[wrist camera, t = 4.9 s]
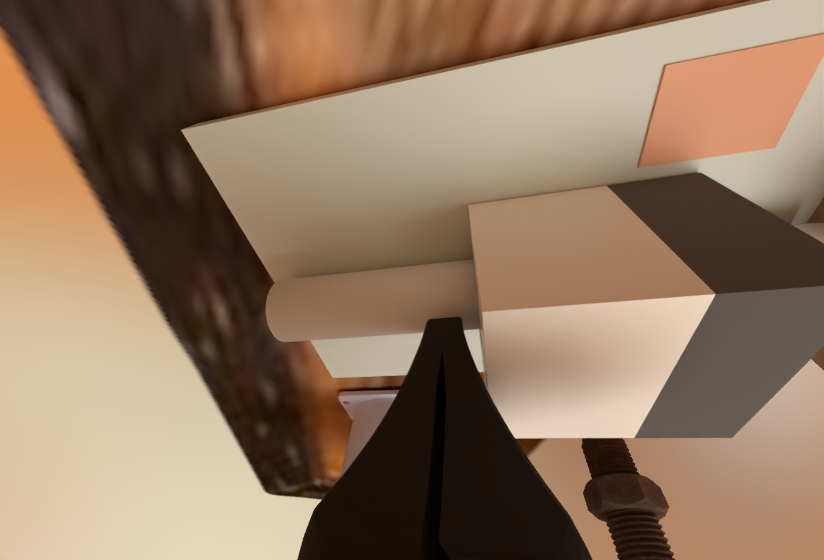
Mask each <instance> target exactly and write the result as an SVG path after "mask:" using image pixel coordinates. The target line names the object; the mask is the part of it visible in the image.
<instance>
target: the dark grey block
mask: <svg viewBox="0 0 824 560" xmlns="http://www.w3.org/2000/svg"><path fill="white" fill-rule="evenodd" d="M607 187H608V188H609V189H610V190H612V191H613V192H614V193H615V194H616V195H617V196H618V197H619V198H620V199H621V200H622V201H623V202H624V203H625V204H626V205H627V206H628V207H629V208H630V209H631V210H632V211H633V212H634V213H635V214H636V215H637V216H638V217H639V218H640V219H641V220H642V221H643V222H644V223H645V224H646V225H647V226H648V227H649V228H650V229H651V230H652V231H653V232H654V233H655V234H656V235H657V236H658V237H659V238H660V239H661V240H662V241H663V242H664V243H665V244H666V245H667V246H668V247H669V248H670V249H671V250H672V251H673V252H674V253H675V254H676V255H677V256H678V257H679V258H680V259H681V260H682V261H683V262H684V263H685V264H686V265H687V266H688V267H689V268H690V269H691V270H692V271H693V272H694V273H695V274H696V275H697V276H698V277H699V278H700V279H701V280H702V281H703V282H704V283H705V284H706V285H707V286H708V287H709V288H710V289H711V290H712V291H713V292H714V293H715V294H716V295H715V297H714V298H713V300H712V302H711V304H710V305H709V307H708V309H707V311H706V312H705V314H704V316H703V318H702V320H701V321H700V323H699V325H698V327H697V328H696V330H695V332H694V334H693V335H692V337H691V339H690V341H689V342H688V344H687V346H686V348H685V349H684V351H683V353H682V355H681V357H680V358H679V360H678V362H677V364H676V365H675V367H674V369H673V371H672V372H671V374H670V376H669V378H668V379H667V381H666V383H665V385H664V386H663V388H662V390H661V392H660V393H659V395H658V397H657V399H656V401H655V402H654V404H653V406H652V408H651V409H650V411H649V413H648V415H647V416H646V418H645V420H644V422H643V423H642V425H641V427H640V429H639V430H638V432H637V434H636V436H635V438H732V437H733V436H734V435H735V434H736V433H737V432H738V431H739V430H740V429H741V428H742V427H743V426H744V425H745V424H746V423H747V422H748V421H749V420H750V419H751V418H752V417H753V416H754V415H755V414H756V413H757V412H758V411H759V410H760V409H761V408H762V407H763V406H764V405H765V404H766V403H767V402H768V401H769V400H770V399H771V398H772V397H773V396H774V395H775V394H776V393H777V392H778V391H779V390H780V389H781V388H782V387H783V386H784V385H785V384H786V383H787V382H788V381H789V380H790V379H791V378H792V377H793V376H794V375H795V374H796V373H797V372H798V371H799V370H800V369H801V368H802V367H803V366H804V365H805V364H806V363H807V362H808V361H809V360H810V359H811V358H812V357H813V356H814V355H815V354H816V353H817V352H818V351H819V350H820V349H821V348H822V347H823V346H824V243H822V242H821V241H819V240H817V239H815V238H814V237H812V236H810V235H808V234H807V233H805V232H803V231H802V230H800V229H798V228H796V227H795V226H793V225H791V224H789V223H788V222H786V221H784V220H783V219H781V218H779V217H777V216H776V215H774V214H772V213H770V212H769V211H767V210H765V209H763V208H762V207H760V206H758V205H757V204H755V203H753V202H751V201H750V200H748V199H746V198H744V197H743V196H741V195H739V194H737V193H736V192H734V191H732V190H731V189H729V188H727V187H725V186H724V185H722V184H720V183H718V182H717V181H715V180H713V179H711V178H710V177H708V176H706V175H705V174H703V173H701V172H700V173H693V174H686V175H679V176H671V177H664V178H657V179H650V180H643V181H636V182H628V183H621V184H614V185H607Z"/></svg>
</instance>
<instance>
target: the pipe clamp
mask: <svg viewBox="0 0 824 560" xmlns="http://www.w3.org/2000/svg"><path fill="white" fill-rule="evenodd" d="M181 131H182V132H183V134H184V136H185V137H186V139H187V141H188V142H189V144H190V145H191V147H192V149H193V150H194V152H195V154H196V155H197V157H198V159H199V160H200V162H201V163H202V165H203V167H204V168H205V170H206V172H207V173H208V175H209V176H210V178H211V180H212V181H213V183H214V185H215V186H216V188H217V190H218V191H219V193H220V194H221V196H222V198H223V199H224V201H225V203H226V204H227V206H228V208H229V209H230V211H231V212H232V214H233V216H234V217H235V219H236V221H237V222H238V224H239V225H240V227H241V229H242V230H243V232H244V234H245V235H246V237H247V239H248V240H249V242H250V243H251V245H252V247H253V248H254V250H255V252H256V253H257V255H258V256H259V258H260V260H261V261H262V263H263V265H264V266H265V268H266V270H267V271H268V273H269V274H270V276H271V278H272V279H273V281H274V283H275V284H274V285H273V286H272V287H271V289H270V291H269V293H268V296H267V301H266V318H267V323H268V326H269V328H270V331H271V332H272V334H273V335H274V337H275V338H277V339H278V340H279V341H282V342H294V341H309V340H310V341H311V343H312V345H313V346H314V348H315V350H316V351H317V353H318V354H319V356H320V358H321V359H322V361H323V363H324V364H325V366H326V367H327V369H328V371H329V372H330V374H331V376H332V377H333V378H346V377H370V376H394V375H407V373H408V371H409V369H410V367H411V364H412V362H413V360H414V357H415V355H416V352H417V350H418V347H419V345H420V342H421V339H422V336H423V333H424V330H425V326H426V322H427V321H428V320H429V319H436V318H449V317H460V318H462V322H463V330H464V334H465V337H466V341H467V344H468V347H469V350H470V352H471V355H472V357H473V360H474V362H475V365H476V367H477V369H478V372H484V370H483V362H482V353H481V344H480V335H479V329H481V327H480V314H479V301H478V289H477V280H476V273H475V265H474V257H473V249H472V241H471V233H470V222H469V210H468V205H471V204H478V203H485V202H492V201H499V200H507V199H514V198H521V197H528V196H535V195H542V194H550V193H557V192H564V191H571V190H578V189H585V188H593V187H600V186H607V185H614V184H621V183H628V182H636V181H643V180H650V179H657V178H664V177H671V176H679V175H686V174H693V173H700V172H701V173H703V174H705V175H706V176H708V177H710V178H711V179H713V180H715V181H717V182H718V183H720V184H722V185H724V186H725V187H727V188H729V189H731V190H732V191H734V192H736V193H737V194H739V195H741V196H743V197H744V198H746V199H748V200H750V201H751V202H753V203H755V204H757V205H758V206H760V207H762V208H763V209H765V210H767V211H769V212H770V213H772V214H774V215H776V216H777V217H779V218H781V219H783V220H784V221H786V222H788V223H789V224H791V225H793V226H795V227H796V228H798V229H800V230H802V231H803V232H805V233H807V234H808V235H810V236H812V237H814V238H815V239H817V240H819V241H821V242H822V243H824V0H751V1H746V2H742V3H737V4H733V5H728V6H724V7H719V8H715V9H710V10H706V11H701V12H697V13H692V14H688V15H683V16H679V17H674V18H670V19H665V20H661V21H656V22H652V23H647V24H643V25H638V26H634V27H629V28H625V29H620V30H616V31H611V32H607V33H602V34H598V35H593V36H589V37H584V38H580V39H575V40H571V41H566V42H562V43H557V44H553V45H548V46H544V47H539V48H535V49H530V50H526V51H521V52H517V53H512V54H508V55H503V56H499V57H494V58H490V59H485V60H481V61H476V62H472V63H467V64H463V65H458V66H454V67H449V68H445V69H440V70H436V71H431V72H427V73H422V74H418V75H413V76H409V77H404V78H400V79H395V80H391V81H386V82H382V83H377V84H373V85H368V86H364V87H359V88H355V89H350V90H346V91H341V92H337V93H332V94H328V95H323V96H319V97H314V98H310V99H305V100H301V101H296V102H292V103H287V104H283V105H278V106H274V107H269V108H265V109H260V110H256V111H251V112H247V113H242V114H238V115H233V116H229V117H224V118H220V119H215V120H211V121H206V122H202V123H197V124H195V125H192V126H190V127H188V128H185V129H183V130H181ZM811 359H812V360H813V361H814V362H815V363H816V364H818V365H819V366H820V367H821V368H822V369H823V370H824V346H823V347H822V348H821V349H820V350H819V351H818V352H817V353H816V354H815V355H814V356H813V357H812V358H811Z"/></svg>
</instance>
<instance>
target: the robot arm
mask: <svg viewBox="0 0 824 560" xmlns="http://www.w3.org/2000/svg"><path fill="white" fill-rule="evenodd" d="M338 399H339V401H340V403H341V404H342V406H343V407H344V409H345V410H346V412H347V413H348V415H349V417H350V418H351V420H352V421H353V423H352V427H351V432H350V436H349V440H348V445H347V449H346V453H345V458H344V462H343V467H342V471H341V475H340V479H339V480H338V481H337V483H336V484H335V485H334V486H333V487H332V489H331V490H330V491H329V492H328V493H327V494H326V496H325V497H324V498H323V499H322V500H321V502H320V503H319V504H318V505H317V506H316V508H315V509H314V511H313V514H312V516H311V519H310V521H309V524H308V527H307V529H306V532H305V534H304V537H303V541H302V545H301V548H300V552H299V556H298V559H297V560H592V558H591V556H590V553H589V551H588V549H587V547H586V546H585V543H584V541H583V540H582V538H581V536H580V534H579V532H578V530H577V529H576V527H575V525H574V523H573V521H572V519H571V517H570V516H569V514H568V513H567V511H566V510H565V509H564V508H563V506H562V505H561V503H560V502H559V501H558V500H557V498H556V497H555V495H554V494H553V493H552V491H551V490H550V489H549V487H548V486H547V485H546V483H545V482H544V481H543V479H542V478H541V476H540V475H539V474H538V472H537V471H536V469H535V468H534V466H533V465H532V463H531V462H530V460H529V459H528V457H527V456H526V454H525V453H524V451H523V450H522V448H521V447H520V445H519V444H518V442H517V440H516V439H515V437H514V436H513V434H512V433H511V431H510V429H509V428H508V426H507V424H506V423H505V421H504V419H503V418H502V416H501V414H500V413H499V411H498V409H497V407H496V405H495V404H494V402H493V400H492V398H491V396H490V394H489V392H488V390H487V388H486V386H485V384H484V382H483V380H482V378H481V376H480V374H479V372H478V369H477V367H476V365H475V362H474V360H473V357H472V355H471V352H470V350H469V347H468V344H467V341H466V337H465V334H464V330H463V322H462V318H460V317H449V318H436V319H429V320H428V321H427V322H426V326H425V330H424V333H423V336H422V339H421V342H420V345H419V347H418V350H417V352H416V355H415V357H414V360H413V362H412V364H411V367H410V369H409V371H408V373H407V375H406V377H405V379H404V381H403V383H402V385H401V387H400V389H399V390H378V391H348V392H341V393H339V396H338Z"/></svg>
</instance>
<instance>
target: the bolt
mask: <svg viewBox="0 0 824 560" xmlns="http://www.w3.org/2000/svg"><path fill="white" fill-rule="evenodd" d="M582 443H583V444H582V449H583V453H584V454H585V458H586V462H587V463H588V468H589V471H590V473H591V477H592V479H591V480H590V481H589V482H588V483H587V484H586V486H585V489H584V492H583V494H584V498H585V501H586V504H587V507H588V511H590V512H591V513H592V514H593V515H594V516H595V517H596V518H598V519H599V520H602V521H605V522H607V526H608V527H609V532H610V533H611V534H612V535H611V538H612V539H613V540H614V542H613V544H614V545H615V546H616V548H615V549H616V552H617V553H619V554H618V559H619V560H675V559H674V558H672V556H673V555H674V553H673V552H671V551H669V549H670V548H671V546H669V545H668V544H667V541H668V539H667V538H665V537H663V536H664V534H665V532H663V531H662V530H661V528H662V526H661V525H660V524H658V522H659V519H661V518H663V517H665V515H666V513H667V511H668V508H669V505H668V503H667V501H666V499H665V497H664V495H663V493H662V490H661V488H660V487H659V486H658V485H656V484H655V483H654V482H653V481H652V480H650V479H649V478H647V477H644V476H641V475H639V473H638V472H637V468H636V467H635V463H633V462H632V461H633V459H632V457H630V456H631V454H630V453H629V452H628V451H629V449H628V448H627V445H626V444H625V441H624V440H623V439H622V438H582Z"/></svg>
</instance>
